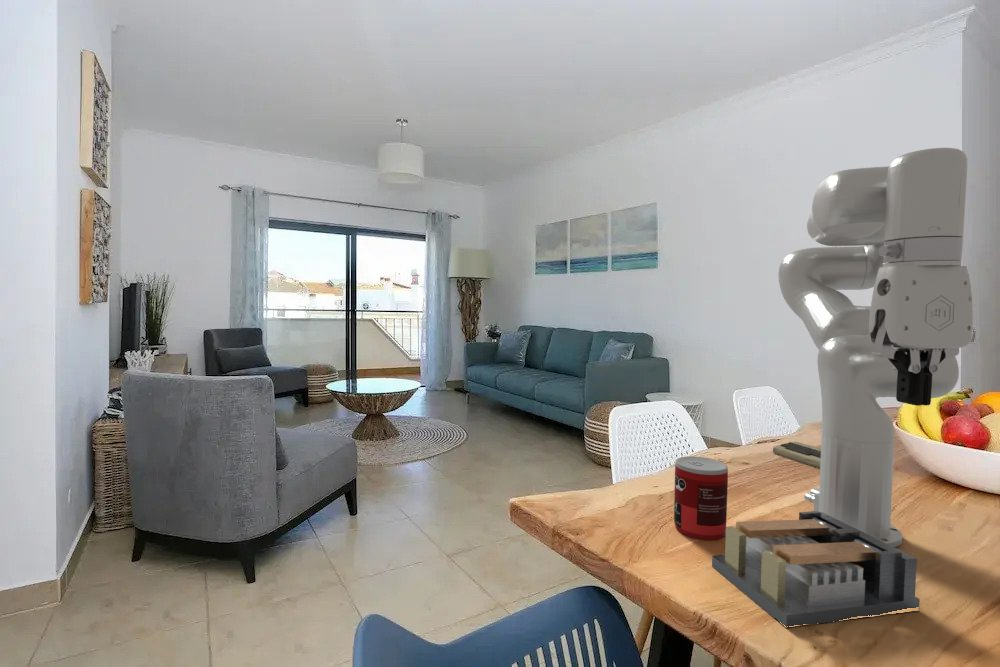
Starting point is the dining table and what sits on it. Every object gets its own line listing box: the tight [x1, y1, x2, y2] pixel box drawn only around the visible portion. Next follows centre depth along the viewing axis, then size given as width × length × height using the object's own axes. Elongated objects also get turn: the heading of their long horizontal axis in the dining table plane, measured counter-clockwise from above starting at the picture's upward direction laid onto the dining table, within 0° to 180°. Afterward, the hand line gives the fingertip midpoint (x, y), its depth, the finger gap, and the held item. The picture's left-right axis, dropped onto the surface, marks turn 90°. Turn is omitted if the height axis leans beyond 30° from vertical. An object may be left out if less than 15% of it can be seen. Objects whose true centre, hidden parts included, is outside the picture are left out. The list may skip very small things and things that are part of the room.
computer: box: [772, 441, 821, 469], centre depth 121 cm, size 16×8×3 cm, turn 19°
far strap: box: [735, 517, 837, 538], centre depth 69 cm, size 4×13×1 cm, turn 101°
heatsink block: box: [711, 510, 921, 627], centre depth 66 cm, size 14×18×7 cm
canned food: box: [673, 455, 729, 541], centre depth 83 cm, size 8×8×11 cm
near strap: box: [773, 539, 882, 565], centre depth 62 cm, size 4×13×1 cm, turn 101°
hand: (912, 403), depth 64 cm, fingers closed
